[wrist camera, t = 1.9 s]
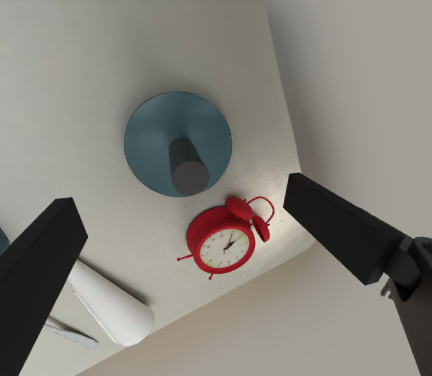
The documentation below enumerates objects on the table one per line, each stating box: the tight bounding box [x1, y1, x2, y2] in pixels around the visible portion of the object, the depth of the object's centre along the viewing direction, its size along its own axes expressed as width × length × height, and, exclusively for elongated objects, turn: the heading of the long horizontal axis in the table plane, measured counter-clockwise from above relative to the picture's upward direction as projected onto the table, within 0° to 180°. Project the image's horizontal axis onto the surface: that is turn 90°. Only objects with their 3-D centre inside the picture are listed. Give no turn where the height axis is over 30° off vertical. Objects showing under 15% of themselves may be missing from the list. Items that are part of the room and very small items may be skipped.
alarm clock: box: [177, 196, 275, 280], centre depth 28 cm, size 10×6×15 cm
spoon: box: [43, 324, 98, 348], centre depth 30 cm, size 4×21×2 cm, turn 18°
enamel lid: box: [124, 92, 232, 197], centre depth 19 cm, size 12×12×9 cm
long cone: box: [67, 259, 155, 347], centre depth 27 cm, size 6×6×19 cm
